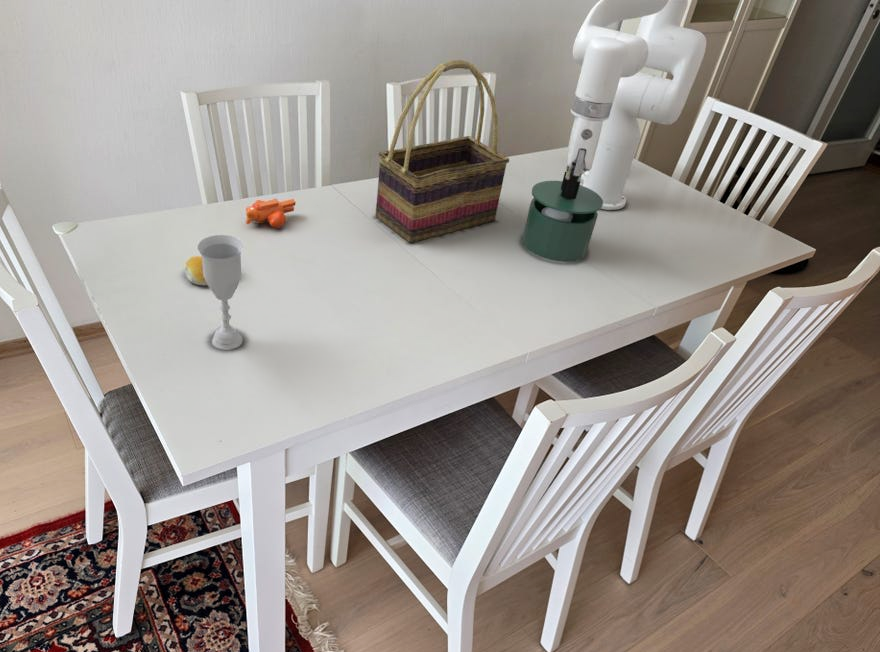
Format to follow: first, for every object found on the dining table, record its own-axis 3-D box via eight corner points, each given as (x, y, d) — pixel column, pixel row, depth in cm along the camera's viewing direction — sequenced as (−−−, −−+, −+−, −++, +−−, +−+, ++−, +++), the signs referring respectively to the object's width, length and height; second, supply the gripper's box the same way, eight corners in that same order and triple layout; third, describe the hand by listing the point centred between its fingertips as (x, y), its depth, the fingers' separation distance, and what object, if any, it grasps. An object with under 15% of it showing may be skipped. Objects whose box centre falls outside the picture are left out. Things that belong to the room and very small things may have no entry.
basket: (408, 245, 147) (428, 77, 125) (370, 216, 155) (383, 55, 134) (499, 221, 160) (531, 66, 138) (459, 196, 169) (484, 46, 147)
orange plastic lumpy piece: (289, 188, 150) (240, 199, 143) (306, 211, 147) (257, 223, 141) (285, 205, 153) (237, 216, 147) (302, 227, 151) (254, 240, 144)
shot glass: (564, 251, 151) (572, 222, 146) (533, 245, 151) (541, 217, 147) (565, 237, 156) (572, 209, 152) (535, 231, 157) (542, 203, 152)
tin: (510, 246, 151) (519, 206, 145) (540, 225, 161) (549, 187, 155) (568, 270, 145) (580, 230, 139) (596, 247, 154) (608, 209, 149)
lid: (518, 198, 144) (524, 171, 140) (550, 179, 154) (557, 153, 150) (583, 223, 137) (591, 195, 134) (612, 202, 147) (621, 175, 144)
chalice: (209, 327, 117) (201, 233, 106) (249, 328, 118) (245, 236, 107) (203, 353, 111) (194, 257, 100) (245, 354, 112) (241, 259, 101)
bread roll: (240, 280, 130) (240, 262, 127) (194, 290, 125) (193, 272, 123) (224, 259, 135) (223, 242, 132) (179, 269, 130) (177, 251, 128)
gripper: (613, 123, 127) (586, 213, 138) (608, 98, 139) (584, 182, 151) (573, 116, 127) (549, 207, 139) (572, 92, 140) (550, 176, 151)
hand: (568, 193), depth 145 cm, fingers closed on lid, 2 cm apart
